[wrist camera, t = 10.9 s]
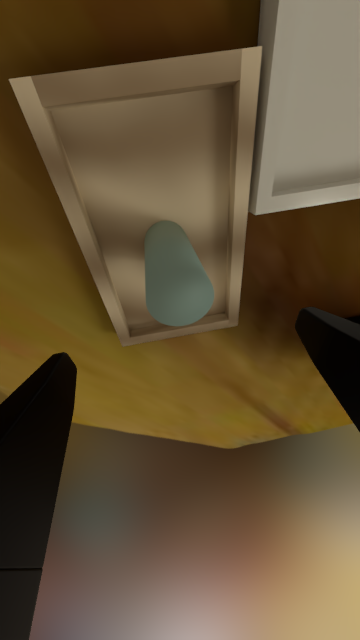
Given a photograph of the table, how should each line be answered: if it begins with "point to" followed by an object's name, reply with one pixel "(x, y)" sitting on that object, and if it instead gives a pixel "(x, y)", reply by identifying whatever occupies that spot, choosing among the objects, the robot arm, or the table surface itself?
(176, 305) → the pin
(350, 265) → the table surface
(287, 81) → the white rimmed platter
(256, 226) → the table surface
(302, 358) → the table surface
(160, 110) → the tray
